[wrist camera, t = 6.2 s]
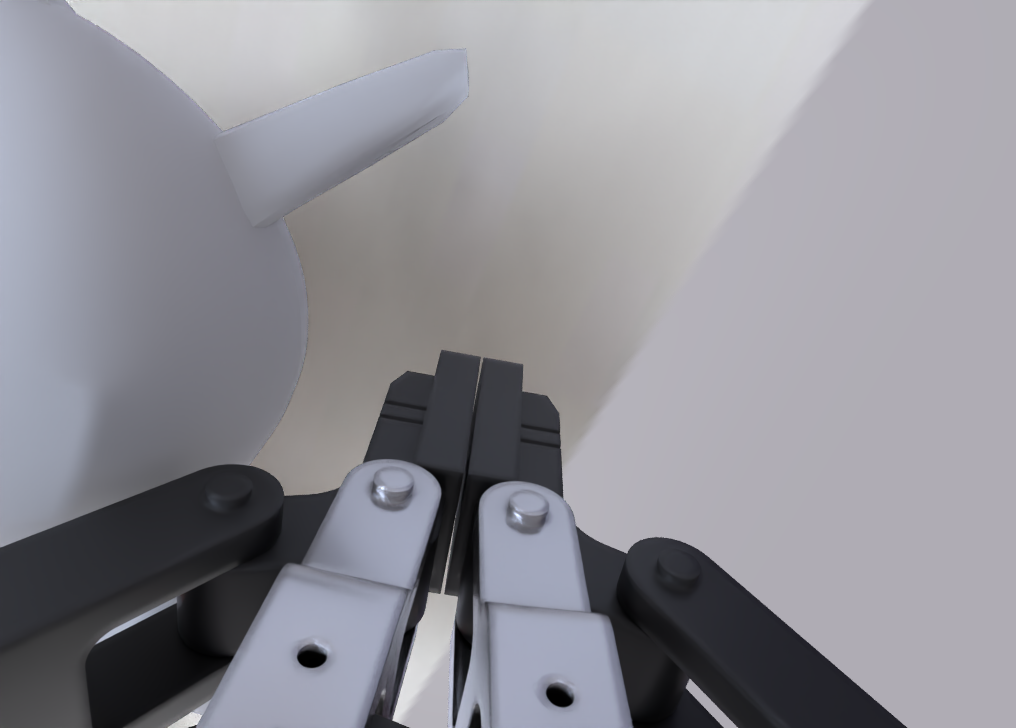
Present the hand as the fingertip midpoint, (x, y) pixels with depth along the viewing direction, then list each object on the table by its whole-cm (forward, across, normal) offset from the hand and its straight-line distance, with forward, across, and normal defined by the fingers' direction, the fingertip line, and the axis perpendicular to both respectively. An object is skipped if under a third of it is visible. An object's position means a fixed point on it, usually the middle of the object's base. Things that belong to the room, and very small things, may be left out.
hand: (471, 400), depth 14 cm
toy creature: (+3, +8, +1) cm, 8 cm away
